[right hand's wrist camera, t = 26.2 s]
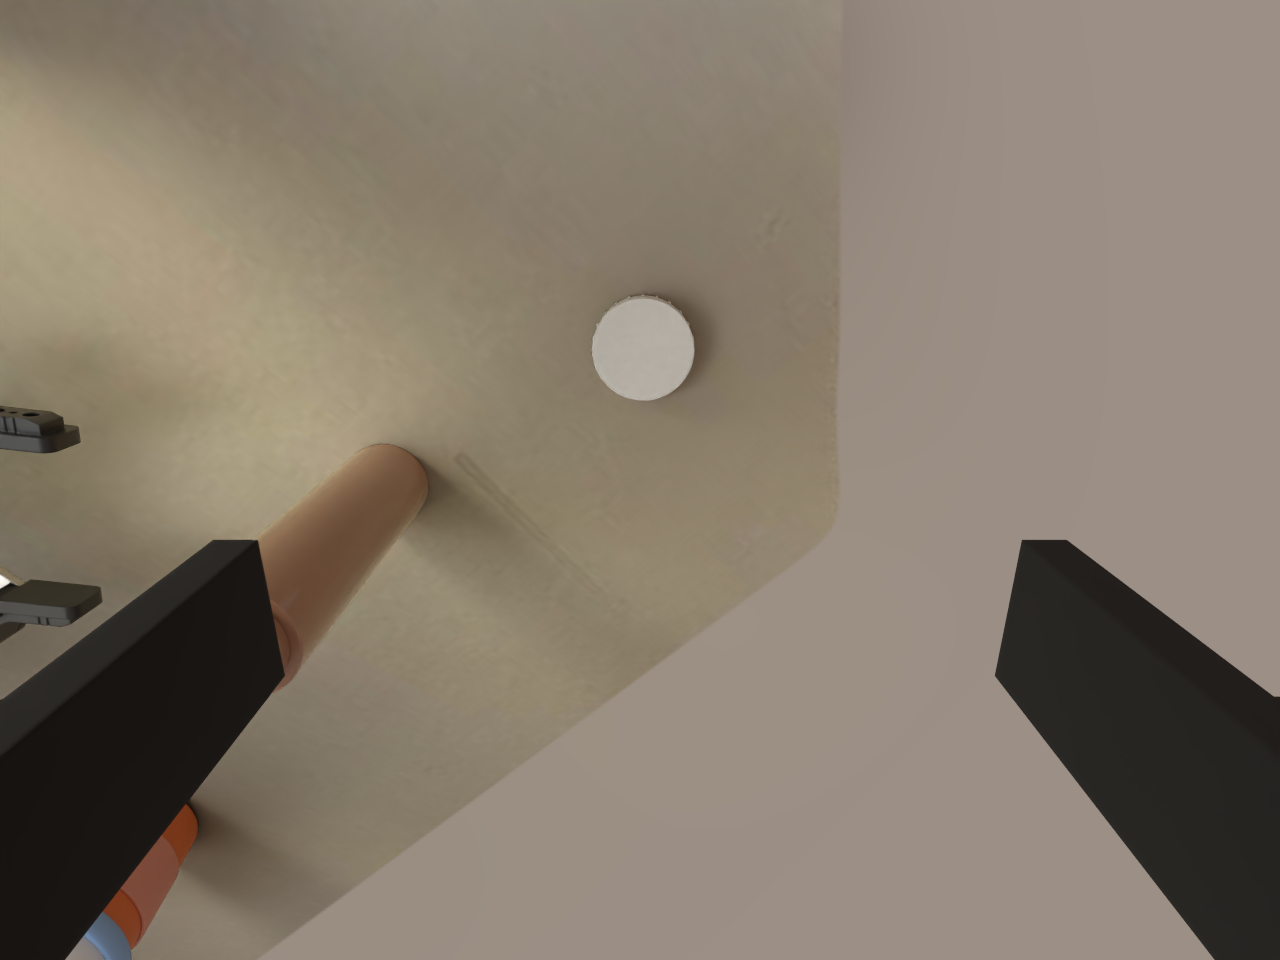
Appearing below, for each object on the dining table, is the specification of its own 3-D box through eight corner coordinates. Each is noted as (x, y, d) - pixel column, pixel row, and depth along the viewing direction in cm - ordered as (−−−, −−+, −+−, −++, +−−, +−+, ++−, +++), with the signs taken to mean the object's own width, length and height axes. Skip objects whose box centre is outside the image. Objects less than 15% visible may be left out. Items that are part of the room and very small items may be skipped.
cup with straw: (245, 843, 52) (58, 1141, 36) (144, 882, 54) (-83, 1188, 37) (167, 751, 50) (-77, 1028, 33) (63, 795, 51) (-224, 1083, 34)
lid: (708, 371, 41) (711, 377, 39) (618, 410, 42) (617, 418, 40) (669, 276, 39) (671, 279, 37) (575, 319, 40) (573, 323, 38)
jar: (334, 451, 42) (119, 616, 25) (415, 437, 42) (255, 593, 25) (360, 527, 44) (176, 731, 27) (438, 513, 44) (304, 711, 26)
